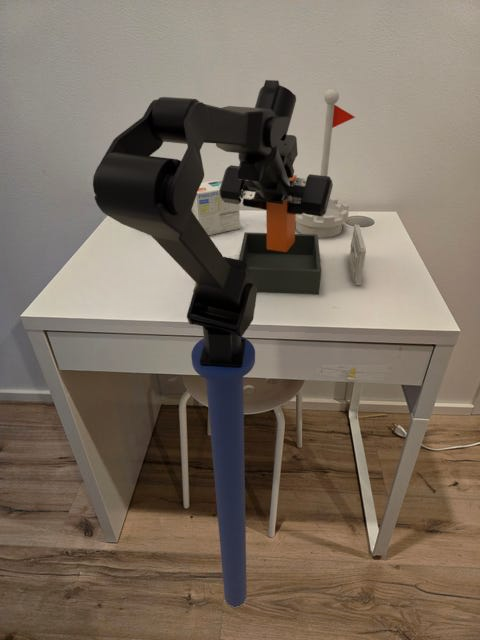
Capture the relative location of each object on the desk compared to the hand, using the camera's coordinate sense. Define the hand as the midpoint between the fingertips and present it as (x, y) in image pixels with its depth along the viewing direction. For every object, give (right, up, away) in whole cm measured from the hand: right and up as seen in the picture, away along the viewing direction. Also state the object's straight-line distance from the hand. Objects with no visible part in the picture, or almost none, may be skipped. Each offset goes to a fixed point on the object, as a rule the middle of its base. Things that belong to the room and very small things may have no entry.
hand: (283, 210), depth 82 cm
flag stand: (+11, +2, +23) cm, 26 cm away
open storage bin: (0, -11, +7) cm, 13 cm away
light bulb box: (-14, +1, +24) cm, 28 cm away
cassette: (+15, -11, +7) cm, 20 cm away
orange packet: (0, -6, +3) cm, 7 cm away
